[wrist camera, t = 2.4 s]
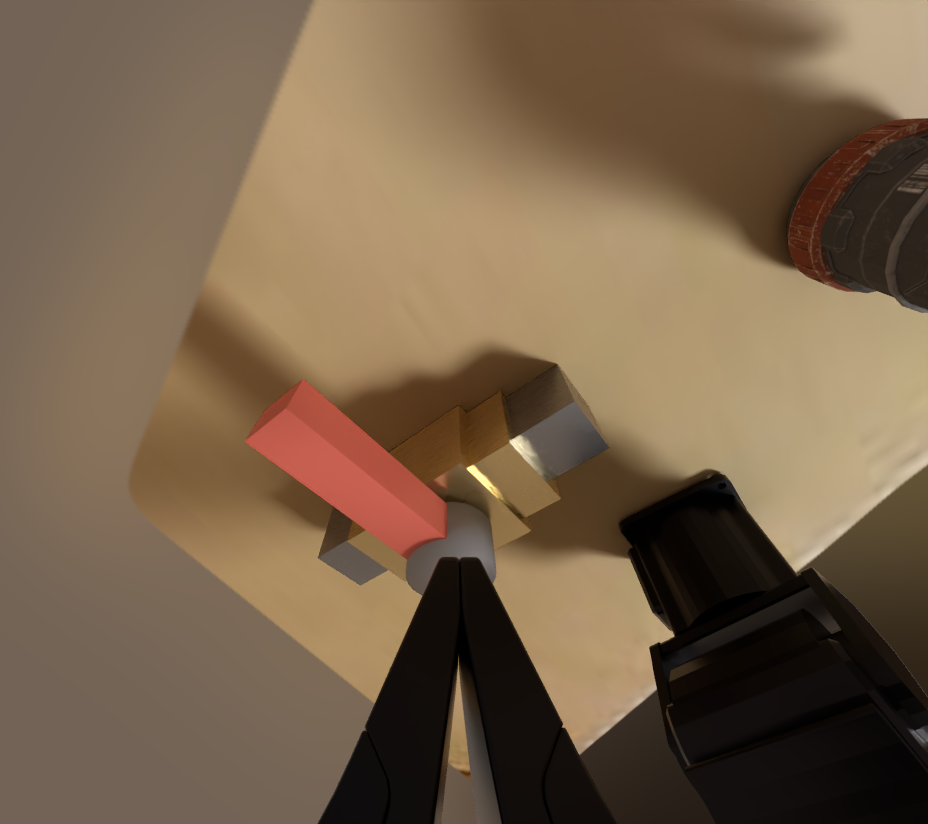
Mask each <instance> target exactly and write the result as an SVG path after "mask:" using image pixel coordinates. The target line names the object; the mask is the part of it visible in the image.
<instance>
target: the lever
mask: <svg viewBox="0 0 928 824" xmlns="http://www.w3.org/2000/svg"><path fill="white" fill-rule="evenodd" d="M245 442H246V443H247V444H248V445H250V446H251V447H253V448H254V449H255V450H257V451H258V452H259V453H261V454H262V455H264V456H265V457H266V458H268V459H269V460H270V461H272V462H273V463H275V464H276V465H277V466H279V467H280V468H281V469H283V470H284V471H286V472H287V473H288V474H290V475H291V476H292V477H294V478H295V479H297V480H298V481H299V482H301V483H302V484H303V485H305V486H306V487H307V488H309V489H310V490H312V491H313V492H314V493H316V494H317V495H318V496H320V497H321V498H323V499H324V500H325V501H327V502H328V503H329V504H331V505H332V506H334V507H335V508H336V509H338V510H339V511H340V512H342V513H343V514H345V515H346V516H347V517H349V518H350V519H351V520H353V521H354V522H356V523H357V524H358V525H360V526H361V527H362V528H364V529H365V530H367V531H368V532H369V533H371V534H372V535H373V536H375V537H376V538H378V539H379V540H380V541H382V542H383V543H384V544H386V545H387V546H389V547H390V548H391V549H393V550H394V551H395V552H397V553H398V554H400V555H401V556H402V557H404V558H405V559H406V560H407V563H406V579H407V582H408V584H409V585H410V586H411V588H412V589H413V590H415V591H416V592H417V593H419V594H421V595H423V594H424V591H425V589H426V587H427V585H428V582H429V580H430V578H431V576H432V573H433V571H434V569H435V567H436V564H437V562H438V560H439V559H440V558H441V557H457V558H458V559H459V561H460V558H461V557H478V558H479V559H480V560H481V562H482V564H483V566H484V568H485V570H486V572H487V574H488V576H489V578H490V580H491V582H492V584H493V582H494V580H495V578H496V564H495V555H494V545H493V536H492V526H491V523H490V520H489V519H488V517H487V516H486V515H485V514H484V513H483V512H482V511H481V510H479V509H477V508H476V507H474V506H471V505H468V504H464V503H459V502H444V501H443V500H442V499H441V498H440V497H439V496H437V495H436V494H435V493H434V492H433V491H432V490H431V489H429V488H428V487H427V486H426V485H425V484H424V483H423V482H421V481H420V480H419V479H418V478H417V477H416V476H414V475H413V474H412V473H411V472H410V471H409V470H408V469H406V468H405V467H404V466H403V465H402V464H401V463H400V462H398V461H397V460H396V459H395V458H394V457H393V456H391V455H390V454H389V453H388V452H387V451H386V450H385V449H383V448H382V447H381V446H380V445H379V444H378V443H377V442H375V441H374V440H373V439H372V438H371V437H370V436H369V435H367V434H366V433H365V432H364V431H363V430H362V429H360V428H359V427H358V426H357V425H356V424H355V423H354V422H352V421H351V420H350V419H349V418H348V417H347V416H346V415H344V414H343V413H342V412H341V411H340V410H339V409H338V408H336V407H335V406H334V405H333V404H332V403H331V402H329V401H328V400H327V399H326V398H325V397H324V396H323V395H321V394H320V393H319V392H318V391H317V390H316V389H315V388H313V387H312V386H311V385H310V384H309V383H308V382H307V381H305V380H304V379H303V380H301V381H300V382H299V383H298V384H297V385H295V386H294V387H293V388H292V389H290V390H289V391H288V392H287V393H286V394H284V395H283V396H282V397H281V398H280V399H278V400H277V401H276V402H275V403H273V404H272V405H271V406H270V407H269V408H267V409H266V410H265V411H264V413H263V414H262V416H261V417H260V419H259V420H258V422H257V424H256V425H255V427H254V428H253V430H252V431H251V433H250V434H249V436H248V437H247V439H246V440H245Z"/></svg>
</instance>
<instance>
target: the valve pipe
mask: <svg viewBox="0 0 928 824" xmlns="http://www.w3.org/2000/svg"><path fill="white" fill-rule="evenodd" d="M608 448H610V447H609V445H608V444H607V442H606V440H605V438H604V436H603V434H602V432H601V430H600V428H599V426H598V424H597V422H596V420H595V418H594V416H593V414H592V412H591V410H590V408H589V406H588V405H587V403H586V402H585V401H584V399H583V398H582V397H581V395H580V394H579V393H578V391H577V390H576V389H575V387H574V386H573V384H572V383H571V382H570V380H569V379H568V378H567V376H566V375H565V374H564V372H563V371H562V370H561V368H560V367H559V365H558V364H557V365H556V366H554V367H553V368H551V369H550V370H548V371H547V372H545V373H543V374H542V375H540V376H539V377H537V378H536V379H534V380H533V381H531V382H530V383H528V384H527V385H525V386H524V387H522V388H520V389H519V390H517V391H516V392H514V393H513V394H511V395H510V396H508V397H507V398H505V397H504V395H503V394H502V393H501V392H500V391H499V392H498V393H496V394H495V395H493V396H492V397H490V398H489V399H487V400H486V401H484V402H483V403H481V404H480V405H478V406H477V407H475V408H473V409H472V410H470V411H469V412H467V413H466V412H465V411H464V410H463V409H462V408H461V407H460V406H459V405H458V406H457V407H455V408H454V409H452V410H451V411H449V412H448V413H446V414H445V415H443V416H442V417H441V418H439V419H438V420H436V421H435V422H433V423H432V424H430V425H429V426H427V427H426V428H424V429H423V430H421V431H420V432H418V433H417V434H415V435H414V436H412V437H411V438H409V439H408V440H406V441H405V442H403V443H402V444H400V445H399V446H398V447H396V448H395V449H393V450H392V451H390V452H389V454H390V455H391V456H393V457H394V458H395V459H396V460H397V461H398V462H400V463H401V464H402V465H403V466H404V467H405V468H406V469H408V470H409V471H410V472H411V473H412V474H413V475H414V476H416V477H417V478H418V479H419V480H420V481H421V482H423V483H424V484H425V485H426V486H427V487H428V488H429V489H431V490H432V491H433V492H434V493H435V494H436V495H437V496H439V497H440V498H441V499H442V500H443V501H444V502H459V503H464V504H468V505H471V506H474V507H476V508H477V509H479V510H481V511H482V512H483V513H484V514H485V515H486V516H487V517H488V519H489V520H490V523H491V526H492V536H493V545H494V550H496V549H498V548H500V547H502V546H503V545H505V544H507V543H509V542H511V541H513V540H515V539H517V538H519V537H521V536H523V535H525V534H527V533H529V532H531V527H530V522H529V517H528V516H530V515H532V514H533V513H535V512H537V511H539V510H541V509H543V508H545V507H547V506H549V505H550V504H552V503H554V502H556V501H558V500H560V499H561V497H560V493H559V490H558V487H557V483H556V480H555V478H556V477H557V476H559V475H561V474H563V473H565V472H567V471H568V470H570V469H572V468H574V467H576V466H577V465H579V464H581V463H583V462H585V461H586V460H588V459H590V458H592V457H594V456H595V455H597V454H599V453H601V452H603V451H605V450H606V449H608ZM318 559H320V560H322V561H323V562H325V563H326V564H328V565H329V566H331V567H333V568H334V569H336V570H337V571H339V572H340V573H342V574H343V575H345V576H347V577H348V578H350V579H351V580H353V581H354V582H356V583H357V584H359V585H362V584H364V583H366V582H367V581H369V580H371V579H373V578H375V577H376V576H378V575H380V574H382V573H384V572H386V571H387V570H389V571H391V572H392V573H393V574H395V575H396V576H398V577H399V578H401V579H402V580H404V581H407V579H406V563H407V560H406V559H405V558H404V557H402V556H401V555H400V554H398V553H397V552H395V551H394V550H393V549H391V548H390V547H389V546H387V545H386V544H384V543H383V542H382V541H380V540H379V539H378V538H376V537H375V536H373V535H372V534H371V533H369V532H368V531H367V530H365V529H364V528H362V527H361V526H360V525H358V524H357V523H356V522H354V521H353V520H351V519H350V518H349V517H347V516H346V515H345V514H343V513H342V512H340V511H339V510H338V509H335V510H333V511H332V514H331V517H330V520H329V523H328V527H327V530H326V533H325V536H324V540H323V543H322V546H321V549H320V552H319V556H318Z"/></svg>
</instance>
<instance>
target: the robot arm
mask: <svg viewBox="0 0 928 824" xmlns="http://www.w3.org/2000/svg"><path fill="white" fill-rule="evenodd" d="M619 528H620V530H621V533H622V534H623V535H624V537H625V538H626V539H627V540H628V541H629V542H630V543H631V545H632V546H633V547H632V548H630V549H629V551H628V555H629V558H630V560H631V563H632V565H633V567H634V570H635V572H636V574H637V577H638V579H639V582H640V584H641V586H642V589H643V591H644V593H645V596H646V598H647V601H648V603H649V605H650V608H651V610H652V612H653V613H654V614H655V615H656V616H657V617H658V618H659V620H660V621H661V622H662V623H663V624H664V625H665V626H666V627H667V628H668V629H669V630H671V631H673V633H674V636H675V637H673V638H671V639H669V640H667V641H665V642H663V643H659V642H658V643H656V644H654V645H652V646H650V647H649V649H650V654H651V659H652V666H653V671H654V676H655V681H656V686H657V691H658V696H659V700H660V706H661V710H662V715H663V721H664V726H665V731H666V736H667V741H668V744H669V747H670V748H671V750H672V752H673V753H674V755H675V757H676V759H677V761H678V763H679V764H680V766H681V768H682V770H683V772H684V774H685V775H686V777H687V778H688V780H689V781H690V783H691V784H692V786H693V787H694V788H695V790H696V791H697V792H698V793H699V795H700V796H701V798H702V799H703V801H704V802H705V804H706V806H707V808H708V810H709V812H710V814H711V815H712V817H713V819H714V821H715V823H716V824H928V697H927V695H926V694H925V692H924V691H923V690H922V688H921V687H920V686H919V684H918V683H917V681H916V680H915V679H914V677H913V676H912V675H911V673H910V672H909V670H908V669H907V668H906V666H905V665H904V664H903V662H902V661H901V660H900V658H899V657H898V655H897V654H896V653H895V651H894V650H893V649H892V648H891V647H890V645H889V644H888V643H887V642H886V641H885V640H884V639H883V638H882V636H881V635H880V634H879V633H878V632H877V631H876V630H875V628H874V627H873V626H872V625H871V624H870V623H869V622H868V621H867V619H866V618H865V617H864V616H863V615H862V614H861V613H860V612H859V610H858V609H857V608H856V607H855V606H854V605H853V604H852V603H851V602H850V601H849V600H848V599H847V598H845V596H844V595H842V594H841V593H840V592H839V591H838V590H837V589H836V588H835V587H834V586H833V585H832V584H830V583H829V582H828V581H827V580H826V579H825V578H824V577H823V576H822V575H821V574H820V573H818V572H817V571H816V570H815V569H814V568H813V567H809V568H807V569H805V570H803V571H801V575H799V576H798V575H797V574H796V572H795V571H794V570H793V568H792V567H791V566H790V565H789V563H788V562H787V561H786V560H785V558H784V557H783V556H782V554H781V553H780V552H779V551H778V549H777V548H776V547H775V545H774V544H773V543H772V542H771V540H770V539H769V538H768V537H767V535H766V534H765V533H764V531H763V530H762V529H761V528H760V526H759V525H758V524H757V522H756V521H755V520H754V519H753V517H752V516H751V515H750V514H749V512H748V511H747V509H746V508H745V506H744V504H743V502H742V501H741V499H740V497H739V495H738V494H737V492H736V490H735V488H734V487H733V485H732V483H731V482H730V480H729V479H728V478H727V477H726V476H725V475H722V474H720V475H716V476H713V477H711V478H709V479H707V480H705V481H703V482H701V483H699V484H697V485H695V486H693V487H691V488H689V489H687V490H685V491H683V492H680V493H678V494H676V495H674V496H672V497H670V498H668V499H666V500H664V501H662V502H660V503H658V504H656V505H654V506H652V507H650V508H648V509H645V510H643V511H641V512H639V513H637V514H635V515H633V516H631V517H629V518H627V519H625V520H623V521H622V522H620V524H619ZM838 628H841V631H838V632H836V633H834V634H831V633H830V632H831V631H833V630H836V629H838ZM458 657H459V674H460V684H461V693H462V702H463V711H464V719H465V728H466V737H467V746H468V754H469V763H470V772H471V781H472V789H473V798H474V806H475V815H476V824H618V823H617V821H616V819H615V818H614V816H613V814H612V813H611V811H610V809H609V808H608V806H607V804H606V803H605V801H604V799H603V798H602V796H601V794H600V792H599V791H598V789H597V787H596V786H595V784H594V782H593V780H592V778H591V776H590V774H589V772H588V771H587V769H586V767H585V765H584V763H583V761H582V759H581V758H580V756H579V754H578V752H577V750H576V748H575V746H574V744H573V742H572V740H571V738H570V736H569V734H568V732H567V730H566V729H565V728H562V726H563V723H562V721H561V719H560V717H559V715H558V713H557V711H556V709H555V707H554V705H553V703H552V701H551V699H550V697H549V695H548V693H547V691H546V689H545V687H544V685H543V683H542V681H541V679H540V677H539V675H538V673H537V671H536V669H535V667H534V665H533V663H532V661H531V659H530V657H529V655H528V653H527V651H526V649H525V647H524V645H523V643H522V641H521V639H520V637H519V635H518V633H517V631H516V629H515V627H514V625H513V623H512V621H511V619H510V617H509V615H508V613H507V611H506V609H505V607H504V605H503V603H502V602H501V600H500V598H499V596H498V594H497V592H496V590H495V588H494V586H493V584H492V582H491V580H490V578H489V576H488V574H487V572H486V570H485V568H484V566H483V564H482V562H481V560H480V559H479V558H478V557H461V558H460V561H459V559H458V558H457V557H441V558H440V559H439V560H438V562H437V564H436V567H435V569H434V571H433V573H432V576H431V578H430V580H429V582H428V585H427V587H426V589H425V591H424V594H423V596H422V598H421V600H420V603H419V605H418V607H417V609H416V612H415V614H414V616H413V619H412V621H411V623H410V625H409V628H408V630H407V632H406V634H405V637H404V639H403V641H402V643H401V646H400V648H399V650H398V652H397V655H396V657H395V659H394V661H393V664H392V666H391V668H390V670H389V673H388V675H387V677H386V680H385V682H384V684H383V686H382V689H381V691H380V693H379V695H378V698H377V700H376V702H375V704H374V707H373V709H372V711H371V713H370V716H369V718H368V721H367V723H366V725H365V730H366V731H363V732H362V733H361V735H360V738H359V740H358V742H357V745H356V747H355V749H354V751H353V753H352V756H351V758H350V760H349V762H348V764H347V766H346V768H345V770H344V773H343V775H342V777H341V779H340V781H339V783H338V785H337V787H336V790H335V792H334V794H333V796H332V797H331V799H330V801H329V803H328V805H327V807H326V809H325V811H324V813H323V814H322V816H321V818H320V820H319V822H318V824H441V821H442V812H443V803H444V794H445V784H446V775H447V766H448V757H449V747H450V738H451V729H452V719H453V710H454V701H455V691H456V682H457V671H458ZM561 728H562V729H561Z"/></svg>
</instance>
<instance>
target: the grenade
mask: <svg viewBox="0 0 928 824" xmlns="http://www.w3.org/2000/svg"><path fill="white" fill-rule="evenodd" d="M787 239H788V246H789V251H790V255H791V258H792V260H793V262H794V264H795V266H796V267H797V268H798V269H799V271H800V272H802V273H803V274H804V275H805V276H807V277H809V278H811V279H813V280H816V281H818V282H821V283H823V284H826V285H828V286H831V287H833V288H836V289H838V290H843V291H847V292H863V293H870V292H874V291H879V292H881V293H884V294H887V295H889V296H892V297H895V298H896V300H897V301H898V302H899V303H900V304H901V305H902V306H904V307H906V308H909V309H912V310H915V311H918V312H921V313H928V118H926V119H903V120H895V121H891V122H888V123H885V124H881V125H879V126H877V127H874V128H872V129H870V130H867V131H865V132H864V133H862V134H860V135H859V136H857V137H856V138H854V139H852V140H851V141H849V142H848V143H847V144H845V145H844V146H843V147H841V148H840V149H839V150H837V151H836V152H834V153H833V154H832V155H830V156H829V157H828V158H827V159H826V160H825V161H824V162H823V163H821V164H820V165H819V166H818V167H817V168H816V170H815V171H814V172H813V173H812V174H811V175H810V176H809V178H808V179H807V181H806V182H805V183H804V185H803V186H802V188H801V189H800V191H799V193H798V195H797V196H796V198H795V201H794V203H793V205H792V208H791V211H790V214H789V218H788V224H787Z"/></svg>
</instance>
